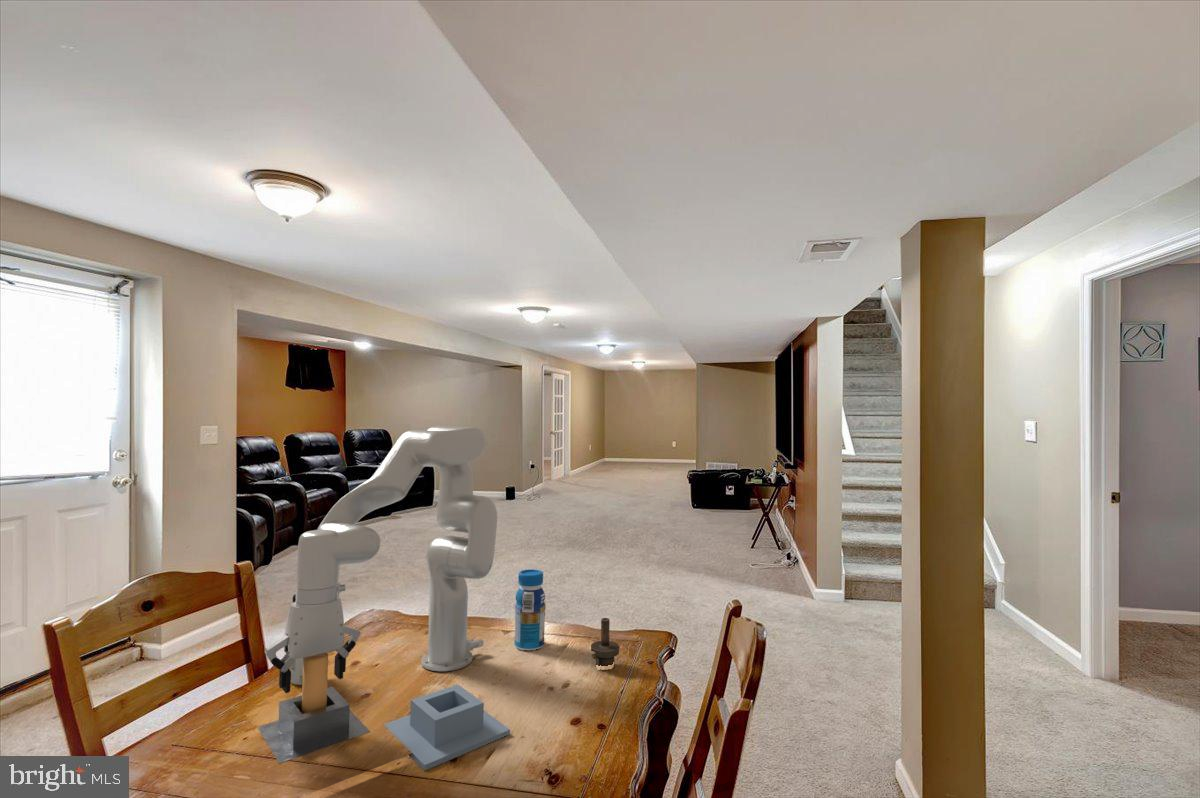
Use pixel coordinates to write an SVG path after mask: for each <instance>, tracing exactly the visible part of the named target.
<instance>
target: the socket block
mask: <svg viewBox="0 0 1200 798" xmlns="http://www.w3.org/2000/svg"><path fill="white" fill-rule="evenodd" d="M484 703H485V702H484V701H482V700H480V699H479V698H478V697H476V696H475V695H474V694H472V693H471V692H469V691H468V690H466V689H465V688H463V686H461V685H459V684H455V685H452V686H449V687H448V686H447V687H446V688H443V689H439V690H437V691H434V692H431V693H428V694H424V695H421V696H418V697H415V698H413V699H410V708H409V709H410V711H409V712H410V714H409V715H406V716H403V717H401V718H398V719H395V720H392V721H389V722H387V723H383V725H384V726H385V727H386V728H387V730H389V732H391V734H392V735H393V736H395V738H396V739H397V740H399V742H400V743H402V744H403V746H405V748H406V749H407V750H409V752H410V753H409V754H408V755H409V757H410V758H411V759H412V760H413V761H414V762H415V763H416V764H417V765H418V766H419V767H420V768H421V769H422V771H425V772H426V771H427V770H430V769H432V768H434V767H436V766H439V765H442V764H444V763H446V762H449V761H451V760H454V759H455V758H458V757H460V756H463V755H466V754H468V753H469V751H470V752H472V750H473V751H474V750H477V749H479V747H480V748H481V746H482V747H484V746H486V744H487V745H489V744H491V743H494V742H496V741H498V740H497V739H499V738H501V739H503V738H505V737H504V736H506V735H508V736H510V735H511V729H510V728H509V727H508V726H506V725H505V724H503V723H502V722H500V721H499V720H498V719H497V718H495V717H493V716H492V715H491V714H489V713H488V712H487V711H485V709H484V708H485V707H484V706H485V705H484ZM509 734H510V735H509ZM502 737H503V738H502ZM506 737H507V736H506ZM495 740H496V741H495ZM499 740H500V739H499ZM493 741H494V742H493ZM490 742H491V743H490ZM488 743H489V744H488ZM483 745H484V746H483ZM467 752H468V753H467Z"/></svg>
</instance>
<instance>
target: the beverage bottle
mask: <svg viewBox="0 0 1200 798" xmlns="http://www.w3.org/2000/svg"><path fill="white" fill-rule="evenodd" d="M517 580H518V585H519V588H518V589H517V591H516V594H515V598H514V599H515V601H516V602H515V604H514V644H513V645H514V646H515V648H516V649H517V648H518V649H517V650H520V651H524V650H533V651H537V650H536V649H538V650H540V649H542V648H543V647H544V645H545V621H546V618H545V617H546V606H547V605H546V602H545V600H546V593H545V591H544V588H543V587H542V585H543V583H544V572H543V571H542V570H539V569H534V568H533V569H530V568H529V569H523V570H520V571H519V572H518V579H517ZM541 647H542V648H541ZM539 648H540V649H539Z"/></svg>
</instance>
